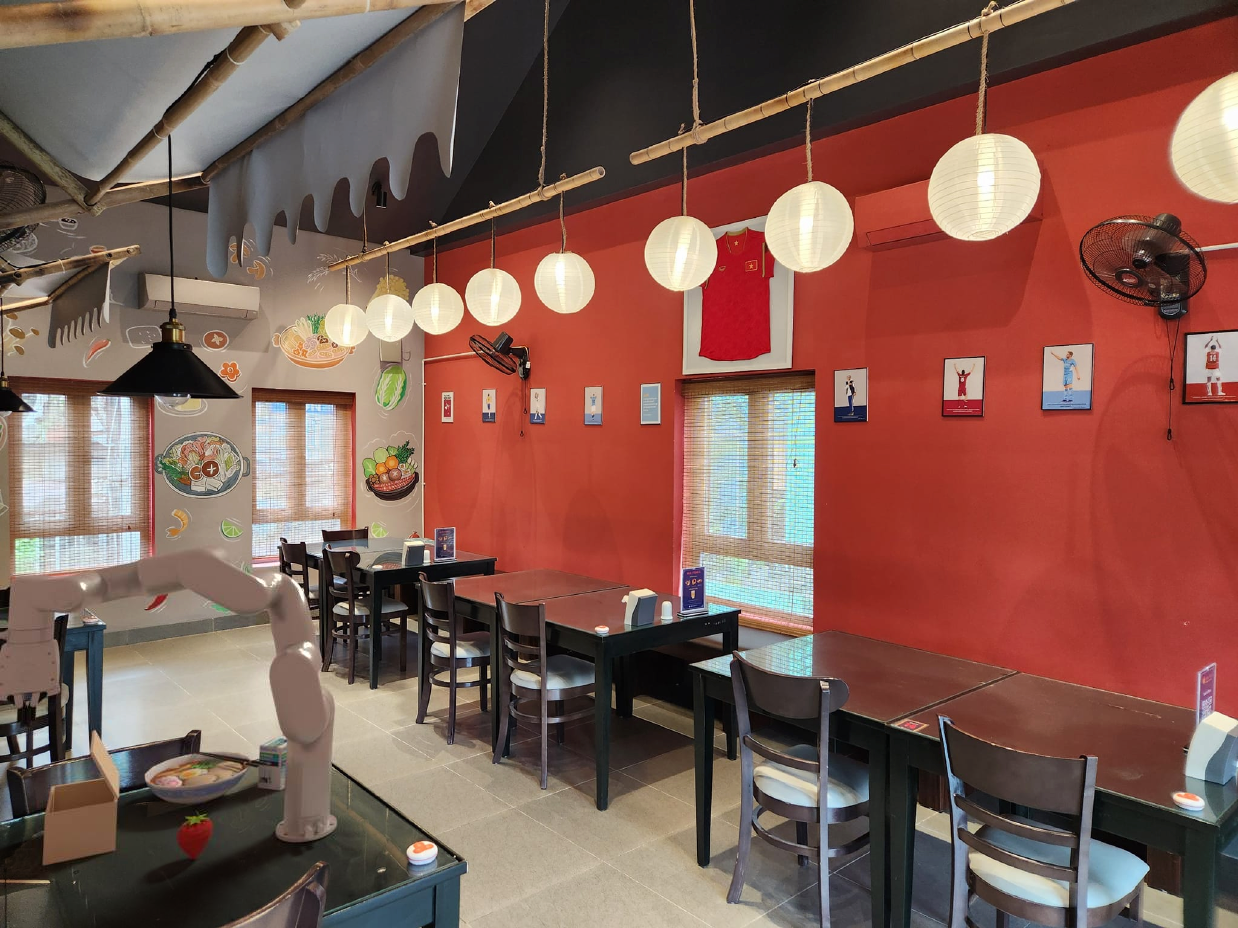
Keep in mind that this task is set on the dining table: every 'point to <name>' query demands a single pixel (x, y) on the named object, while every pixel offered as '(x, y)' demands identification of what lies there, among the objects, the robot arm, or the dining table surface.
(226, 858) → the dining table surface
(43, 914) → the dining table surface
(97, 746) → the carton flap
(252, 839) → the dining table surface
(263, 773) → the light bulb box
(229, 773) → the ramen bowl
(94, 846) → the cardboard carton
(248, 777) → the dining table surface
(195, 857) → the strawberry
